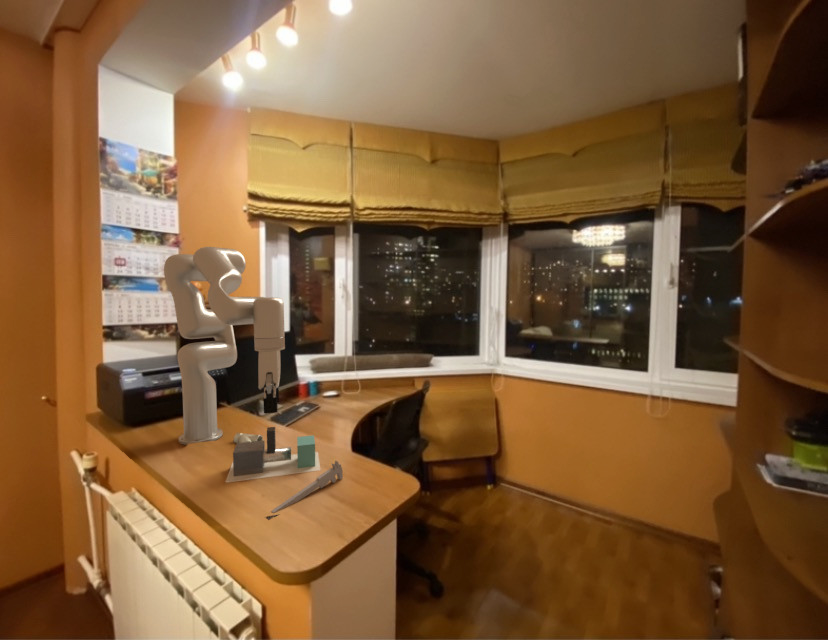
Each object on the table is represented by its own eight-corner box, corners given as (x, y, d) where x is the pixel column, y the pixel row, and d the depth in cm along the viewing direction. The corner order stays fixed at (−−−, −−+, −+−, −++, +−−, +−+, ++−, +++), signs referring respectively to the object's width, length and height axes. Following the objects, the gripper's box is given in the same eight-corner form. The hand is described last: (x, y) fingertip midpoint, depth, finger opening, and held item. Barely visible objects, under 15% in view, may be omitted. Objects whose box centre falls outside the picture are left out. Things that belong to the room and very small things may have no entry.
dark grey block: (237, 465, 101) (236, 443, 101) (264, 462, 103) (264, 440, 103) (233, 476, 95) (232, 453, 95) (262, 472, 97) (262, 449, 97)
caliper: (339, 482, 96) (339, 458, 95) (342, 483, 95) (342, 459, 94) (266, 519, 80) (265, 491, 79) (268, 521, 79) (268, 493, 78)
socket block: (297, 458, 106) (297, 437, 106) (314, 456, 108) (313, 435, 107) (297, 468, 100) (297, 445, 100) (315, 466, 101) (315, 443, 101)
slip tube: (236, 463, 100) (235, 430, 99) (291, 456, 104) (290, 425, 103) (234, 468, 97) (233, 434, 96) (291, 462, 101) (290, 429, 100)
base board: (233, 465, 104) (232, 461, 104) (317, 454, 111) (317, 451, 111) (225, 486, 92) (225, 482, 92) (320, 473, 99) (320, 470, 99)
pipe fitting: (249, 454, 112) (263, 444, 118) (248, 442, 111) (262, 432, 118) (226, 452, 114) (241, 441, 120) (225, 440, 113) (240, 430, 119)
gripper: (257, 341, 106) (259, 400, 107) (250, 349, 89) (253, 419, 90) (285, 339, 108) (287, 397, 109) (283, 347, 91) (285, 415, 92)
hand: (271, 407), depth 100 cm, fingers open, 9 cm apart
